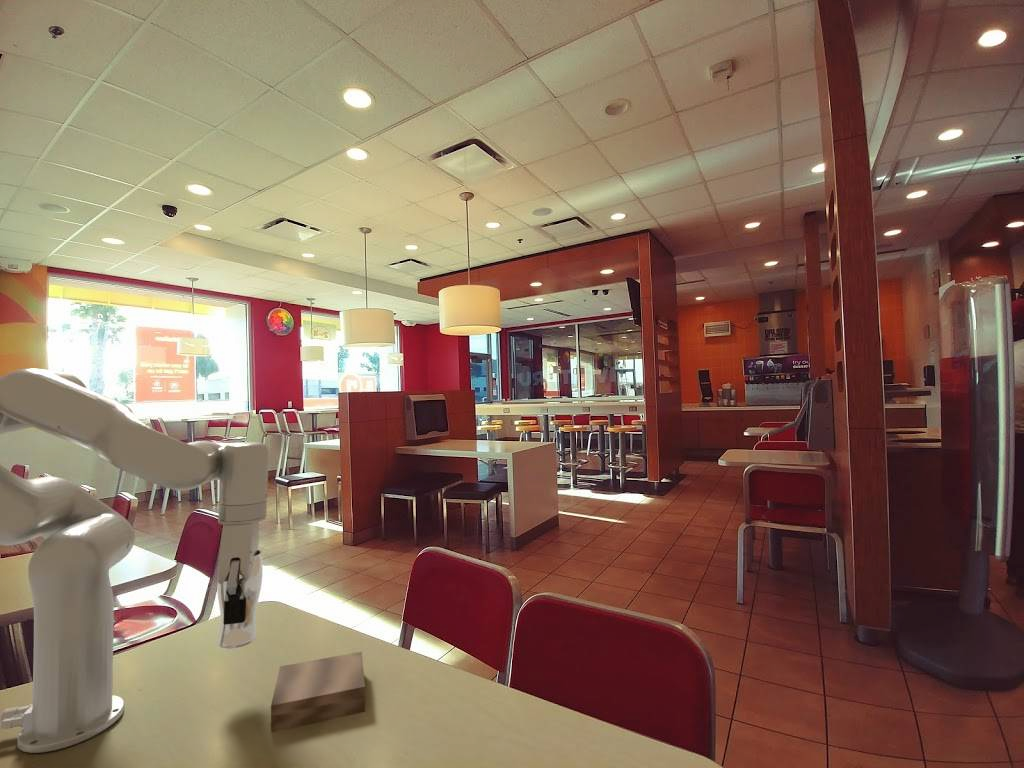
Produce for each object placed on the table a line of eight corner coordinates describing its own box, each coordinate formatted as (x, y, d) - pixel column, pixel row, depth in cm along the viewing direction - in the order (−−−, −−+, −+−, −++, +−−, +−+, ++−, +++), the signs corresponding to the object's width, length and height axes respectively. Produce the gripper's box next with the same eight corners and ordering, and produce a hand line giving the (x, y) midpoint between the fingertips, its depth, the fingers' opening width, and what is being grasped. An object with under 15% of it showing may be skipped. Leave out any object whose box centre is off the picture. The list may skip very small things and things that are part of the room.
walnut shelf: (270, 732, 75) (271, 705, 75) (280, 689, 86) (280, 666, 86) (365, 711, 80) (364, 686, 80) (361, 673, 91) (361, 651, 91)
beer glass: (267, 632, 88) (271, 549, 89) (243, 651, 81) (247, 560, 82) (232, 630, 89) (236, 547, 90) (204, 648, 82) (209, 558, 83)
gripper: (229, 503, 93) (225, 598, 92) (206, 524, 77) (200, 640, 76) (272, 501, 96) (268, 594, 95) (258, 521, 79) (254, 633, 78)
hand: (238, 613), depth 85 cm, fingers closed on beer glass, 6 cm apart
